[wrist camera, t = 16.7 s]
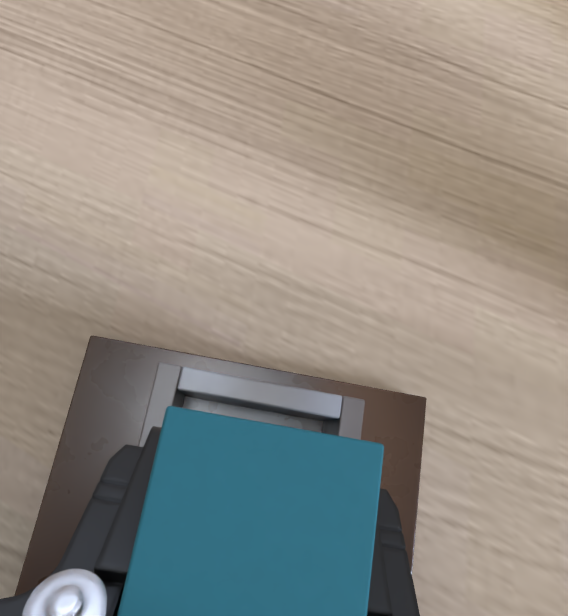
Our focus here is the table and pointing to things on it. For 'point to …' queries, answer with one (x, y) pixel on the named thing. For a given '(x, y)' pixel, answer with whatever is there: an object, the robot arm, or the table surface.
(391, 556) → the robot arm
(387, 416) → the board
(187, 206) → the table surface
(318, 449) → the teal rectangular block
